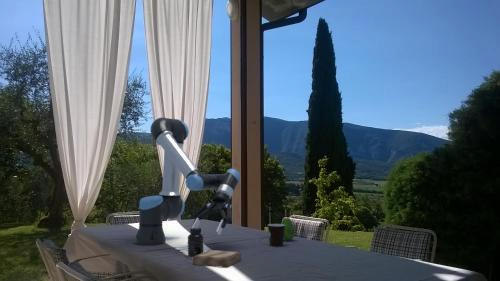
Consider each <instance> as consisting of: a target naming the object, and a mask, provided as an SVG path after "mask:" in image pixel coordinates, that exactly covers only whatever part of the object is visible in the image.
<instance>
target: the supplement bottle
mask: <svg viewBox="0 0 500 281" xmlns="http://www.w3.org/2000/svg"><path fill="white" fill-rule="evenodd" d="M189 233H190V234H188V236H187V256H188V258H189V257H190V258H193V257H194V256H196V255H198V254H201V253H203V252H204V235H203V234H202V227H198V228H192V227H190V229H189Z"/></svg>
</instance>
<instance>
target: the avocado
mask: <svg viewBox="0 0 500 281" xmlns="http://www.w3.org/2000/svg"><path fill="white" fill-rule="evenodd" d="M281 224H283V225H285V230H284V239H283V241H287V242H289V241H291V240H293V239H294V237H295V233H296V230H295V226H294V224H293V222H292V219H291V218H289V217H284V218H283V219H282V221H281Z"/></svg>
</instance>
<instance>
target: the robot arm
mask: <svg viewBox="0 0 500 281" xmlns="http://www.w3.org/2000/svg"><path fill="white" fill-rule="evenodd" d="M150 136H151V137H152V139H153V140H154V142H155V144H156V145H158V146H160V147H161V148H162V149H163V152H164V154H163V172H162V190H161V191H160V192H159V194H158V195H151V196H150V195H149V196H144V197H142V198H140V200H139V206H138V208H139V212H138V213H139V218H138V223H139V224H138V230H137V233H136V235H135V242H134V243H135V244H136V245H142V246H143V245H144V246H152V245H153V246H154V245H162V244H165V243H166V241H167V240H166V235H165V231H164V227H163V221H165V220H174V219H176V218H179V217H181V216H182V215H183V213H184V212H185V201H184V199H183V198H182V194H181V193H180V192H179V184H180V182H179V181H180V173H181V174H182V176H183V178H185V184H186V188H187V189H188V190H190V191H194V192H195V191H196V192H198V191H208V190H210V191H211V190H212V191H213V190H216V193H214V196H213V198H212V202H210V203H209V202H208V201H206V202H205V203H204V205H202V206H201V208H200V209H198V210H197V211H196V212H195V213H194V214H193V215H192V217H193V219H194V221H193V223H192V226H191V228H199V226H200V224H201V220H203V219H204V218H206V217H207V216H209V215H210V214H213V213H219V214H221V216H222V219H221V220H220V222H219V224H218V226H217V228H216V230H215V231H216V233H217V235H218V236H221V233H222V231H223V230H224V229H225V228H226V226H227V224H228V223H232V221H233V216H232V208H233V206H232V205H233V204H231V202H230V201H231V199H232V196H233V194H234V191H235V190H236V188H237V186H238V184H239V182H240V179H241V173H240V172H239V171H238V169H235V168H229V169H227V171H226V172H225V173H221V174H220V173H219V174H218V173H217V174H216V173H215V174H214V173H213V174H211V173H210V174H209V173H208V174H203V173H202V172H201V171H200V170H199V169H198V167H197V166H196V165H195V163H194V162H193V161H192V160H191V158H190V157H189V155H187V153H186V152H185V151H184V149H183V148H182V146H184V145H185V141H186V140H187V138H188V136H189V127H188V124H186V122H185V121H183V120H182V119H176V118H169V117H158V118H156V119H155V120H154V121H152V123H151V125H150ZM225 209H226V213H225V211H224V210H225Z"/></svg>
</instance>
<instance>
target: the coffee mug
mask: <svg viewBox="0 0 500 281" xmlns="http://www.w3.org/2000/svg"><path fill="white" fill-rule="evenodd" d="M267 230H268V238H269V246H271V247H283V245H284V230H285V225H283V224H282V223H269V224H267Z"/></svg>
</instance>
